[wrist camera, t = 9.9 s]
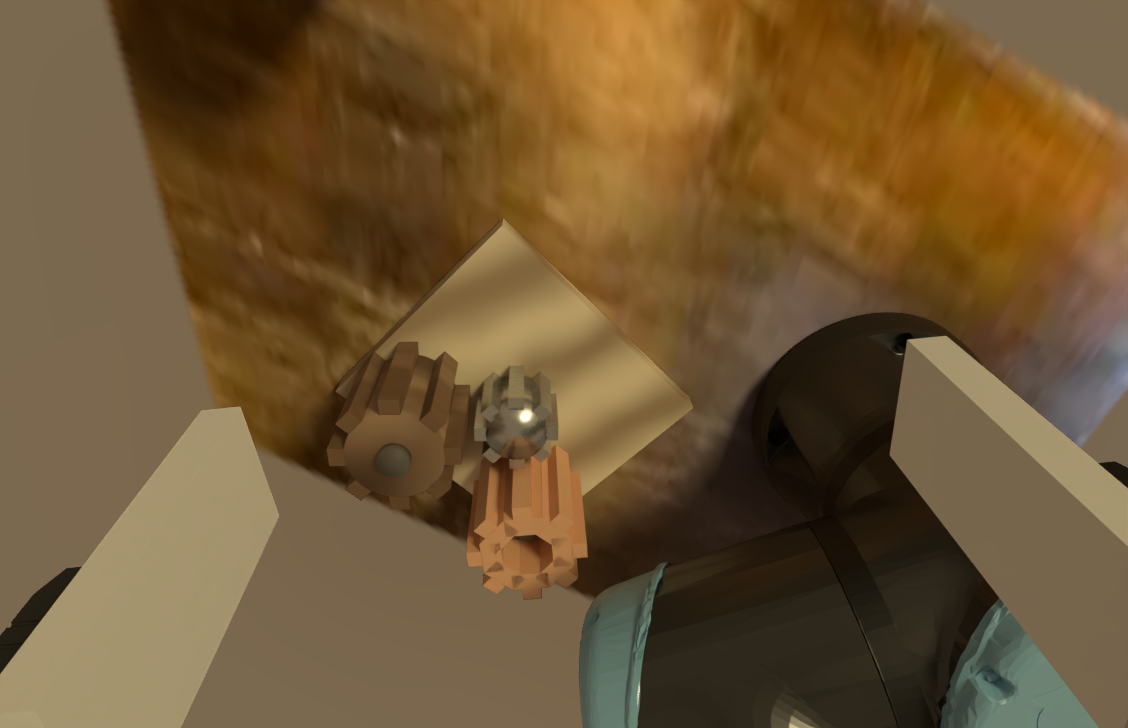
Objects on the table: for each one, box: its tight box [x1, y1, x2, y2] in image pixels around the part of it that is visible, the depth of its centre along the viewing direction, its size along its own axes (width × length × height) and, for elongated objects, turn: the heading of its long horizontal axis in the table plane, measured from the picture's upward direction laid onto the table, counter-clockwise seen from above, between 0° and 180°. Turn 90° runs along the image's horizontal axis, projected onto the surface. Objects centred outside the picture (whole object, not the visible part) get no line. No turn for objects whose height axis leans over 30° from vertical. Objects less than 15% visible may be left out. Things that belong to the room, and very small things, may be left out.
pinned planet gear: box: [327, 342, 471, 509], centre depth 41 cm, size 7×7×8 cm
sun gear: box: [474, 366, 558, 469], centre depth 44 cm, size 5×5×4 cm
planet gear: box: [466, 445, 588, 600], centre depth 45 cm, size 7×7×7 cm
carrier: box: [336, 218, 693, 541], centre depth 44 cm, size 17×15×6 cm
